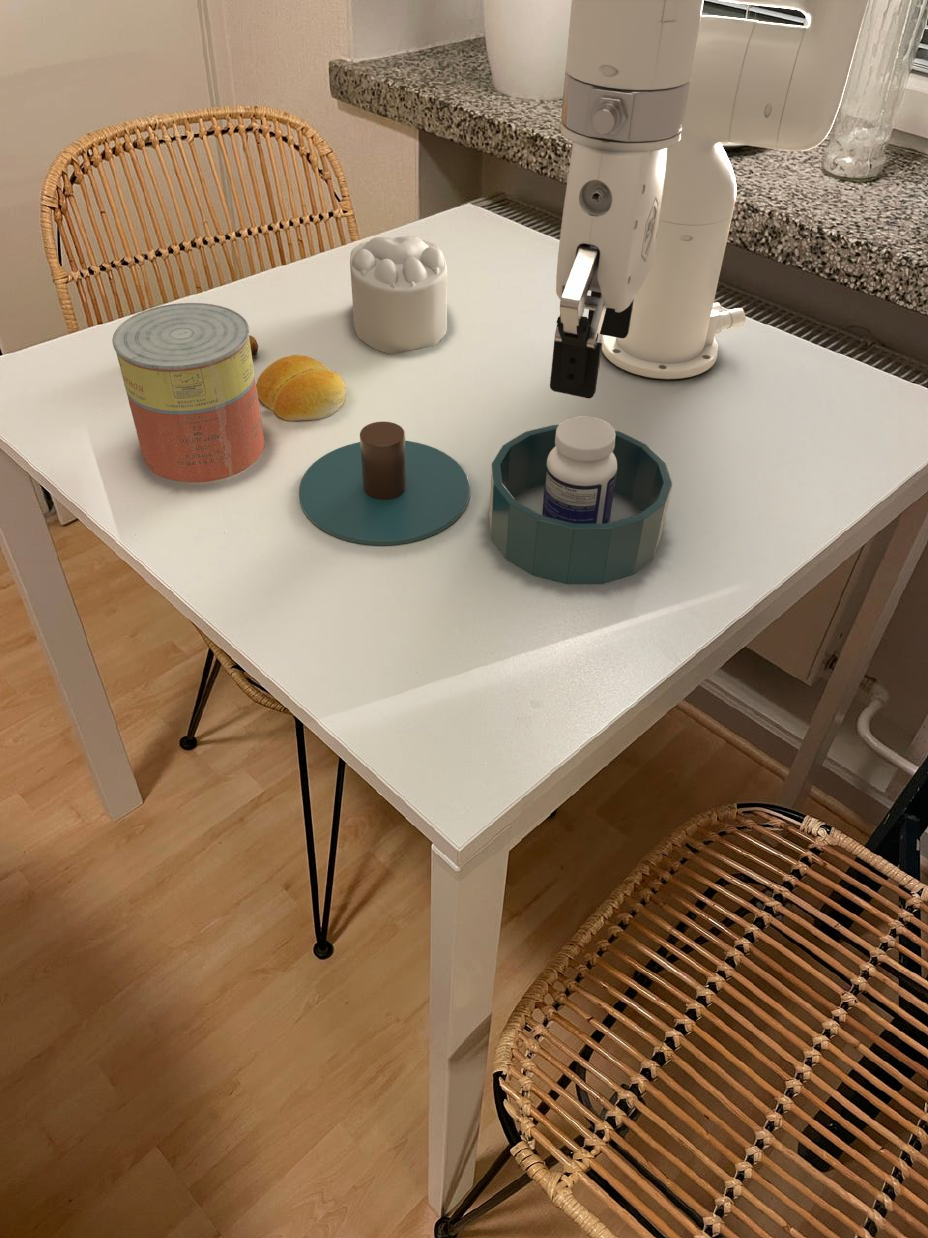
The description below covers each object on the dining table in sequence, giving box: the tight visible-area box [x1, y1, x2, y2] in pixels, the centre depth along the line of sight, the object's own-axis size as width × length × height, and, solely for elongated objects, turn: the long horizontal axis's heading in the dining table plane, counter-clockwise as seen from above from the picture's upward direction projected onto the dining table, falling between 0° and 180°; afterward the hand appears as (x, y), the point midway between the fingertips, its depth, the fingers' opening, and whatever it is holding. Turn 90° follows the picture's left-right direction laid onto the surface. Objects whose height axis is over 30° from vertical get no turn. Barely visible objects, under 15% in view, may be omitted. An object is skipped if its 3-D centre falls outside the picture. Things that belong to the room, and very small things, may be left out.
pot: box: [488, 424, 673, 585], centre depth 79 cm, size 14×14×6 cm
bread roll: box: [256, 354, 347, 422], centre depth 94 cm, size 8×9×4 cm
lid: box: [298, 421, 471, 546], centre depth 82 cm, size 15×15×7 cm
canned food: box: [112, 302, 265, 483], centre depth 85 cm, size 11×11×12 cm
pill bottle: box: [541, 415, 617, 524], centre depth 78 cm, size 6×6×10 cm
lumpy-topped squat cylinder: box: [349, 235, 448, 355], centre depth 104 cm, size 10×13×9 cm
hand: (590, 361), depth 70 cm, fingers open, 9 cm apart
